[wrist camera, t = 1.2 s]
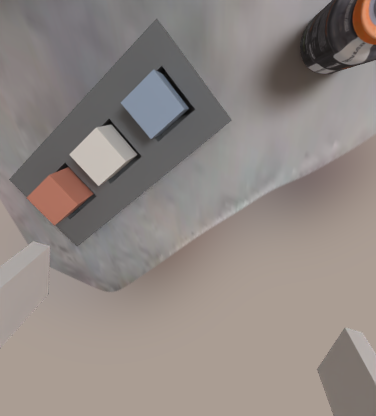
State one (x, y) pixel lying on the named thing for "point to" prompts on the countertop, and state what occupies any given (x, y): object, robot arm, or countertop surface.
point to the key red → (59, 195)
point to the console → (126, 132)
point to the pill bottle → (340, 36)
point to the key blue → (154, 104)
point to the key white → (103, 153)
